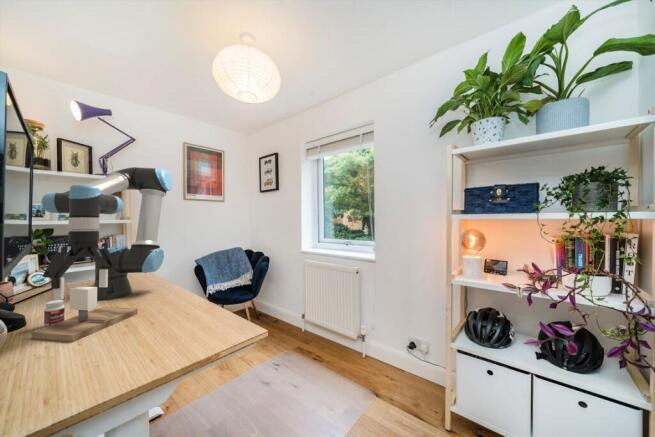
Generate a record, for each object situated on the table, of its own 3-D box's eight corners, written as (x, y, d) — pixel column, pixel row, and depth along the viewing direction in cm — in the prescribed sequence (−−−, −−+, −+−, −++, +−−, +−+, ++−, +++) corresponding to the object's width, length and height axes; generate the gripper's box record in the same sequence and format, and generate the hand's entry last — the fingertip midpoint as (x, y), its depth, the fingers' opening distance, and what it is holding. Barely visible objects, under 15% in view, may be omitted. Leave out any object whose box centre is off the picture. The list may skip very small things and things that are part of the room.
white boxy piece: (79, 317, 86) (79, 286, 86) (109, 320, 85) (109, 287, 85) (69, 321, 83) (69, 288, 83) (100, 323, 82) (100, 290, 82)
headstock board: (104, 311, 98) (104, 306, 98) (137, 313, 96) (137, 308, 96) (31, 338, 76) (31, 331, 76) (73, 341, 74) (73, 334, 74)
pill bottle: (50, 329, 82) (50, 304, 82) (40, 328, 83) (40, 303, 83) (68, 323, 87) (68, 299, 87) (58, 322, 88) (58, 298, 88)
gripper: (110, 229, 97) (109, 282, 97) (26, 231, 72) (24, 303, 72) (127, 229, 96) (126, 283, 96) (47, 232, 71) (46, 305, 71)
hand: (82, 292), depth 84 cm, fingers open, 13 cm apart
